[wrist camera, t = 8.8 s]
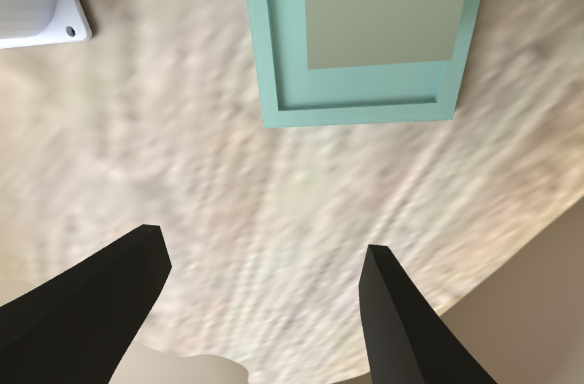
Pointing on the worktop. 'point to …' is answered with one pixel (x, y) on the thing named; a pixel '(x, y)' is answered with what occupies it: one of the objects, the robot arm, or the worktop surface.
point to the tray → (347, 76)
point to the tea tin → (380, 31)
